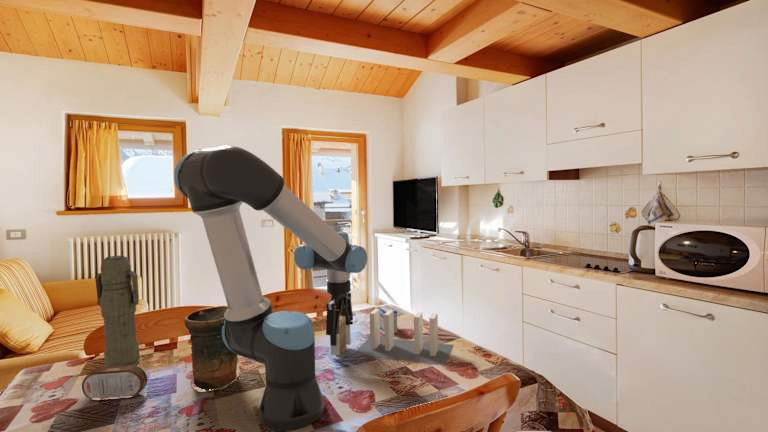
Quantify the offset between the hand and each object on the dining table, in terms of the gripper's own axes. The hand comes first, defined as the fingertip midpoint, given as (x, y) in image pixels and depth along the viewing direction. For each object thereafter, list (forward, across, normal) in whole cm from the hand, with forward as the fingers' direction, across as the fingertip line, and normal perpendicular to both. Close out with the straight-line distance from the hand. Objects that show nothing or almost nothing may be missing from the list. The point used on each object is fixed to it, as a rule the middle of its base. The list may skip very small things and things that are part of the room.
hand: (341, 349), depth 129 cm
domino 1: (+1, +8, -9) cm, 12 cm away
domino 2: (+1, +8, -14) cm, 16 cm away
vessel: (+2, -26, +27) cm, 38 cm away
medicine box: (+2, +24, -8) cm, 25 cm away
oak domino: (+2, 0, 0) cm, 2 cm away
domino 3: (+1, +8, -24) cm, 25 cm away
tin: (+2, -42, +46) cm, 62 cm away
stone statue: (+2, -28, +61) cm, 67 cm away
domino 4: (+1, +8, -29) cm, 30 cm away
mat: (+2, +8, -19) cm, 21 cm away
